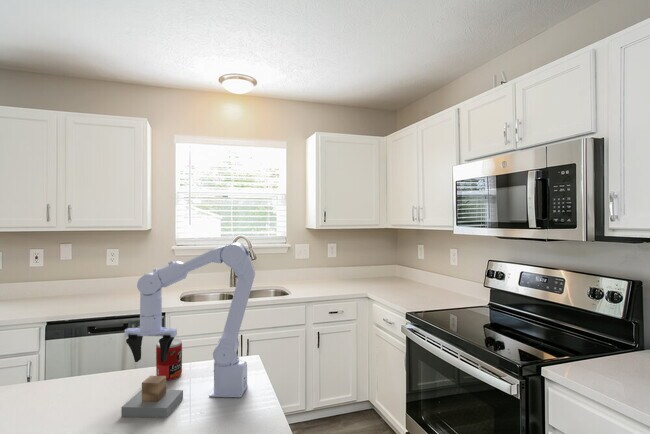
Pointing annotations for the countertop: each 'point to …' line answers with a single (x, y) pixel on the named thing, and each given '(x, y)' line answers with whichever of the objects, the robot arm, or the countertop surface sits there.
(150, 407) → the slate base
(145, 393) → the light brown rectangular block
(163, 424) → the countertop surface
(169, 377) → the canned food
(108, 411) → the countertop surface
